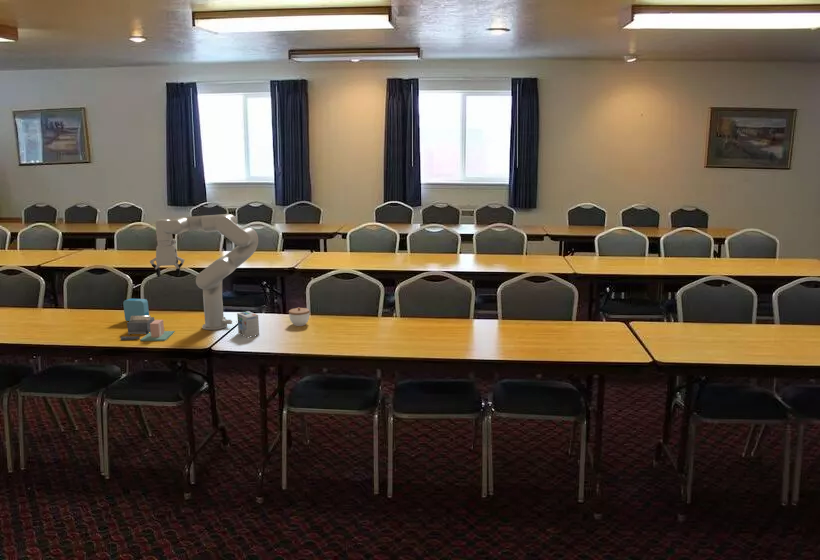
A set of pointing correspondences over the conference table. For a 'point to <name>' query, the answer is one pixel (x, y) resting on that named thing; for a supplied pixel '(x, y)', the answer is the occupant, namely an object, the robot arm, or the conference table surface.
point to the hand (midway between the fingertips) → (168, 276)
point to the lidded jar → (299, 316)
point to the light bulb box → (248, 324)
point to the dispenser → (138, 326)
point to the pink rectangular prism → (157, 328)
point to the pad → (161, 338)
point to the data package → (135, 308)
